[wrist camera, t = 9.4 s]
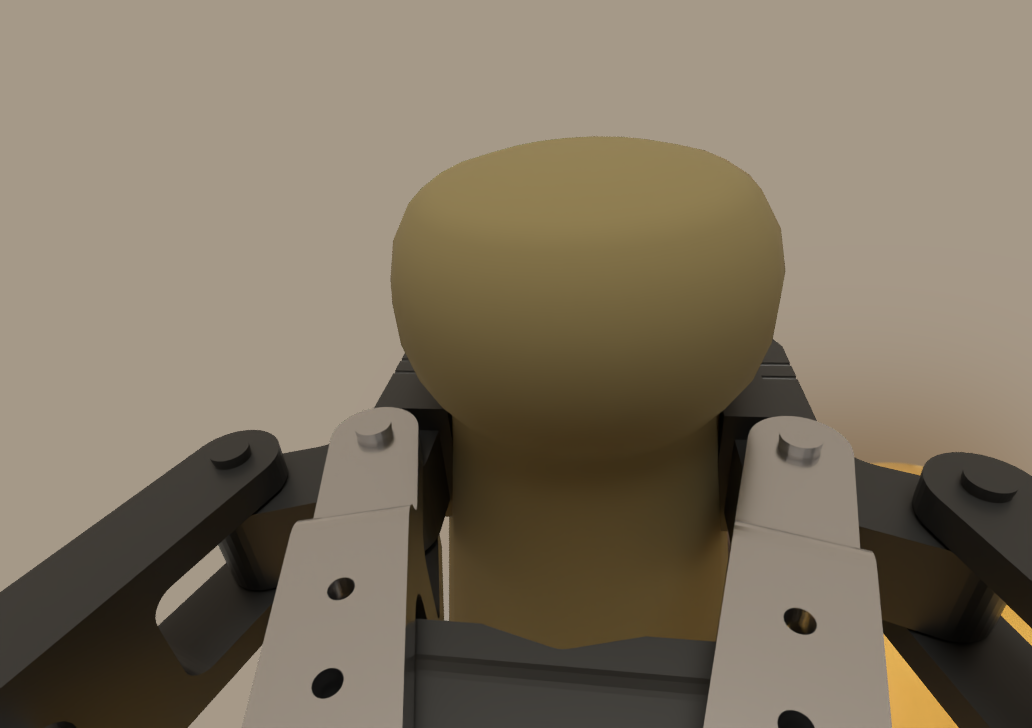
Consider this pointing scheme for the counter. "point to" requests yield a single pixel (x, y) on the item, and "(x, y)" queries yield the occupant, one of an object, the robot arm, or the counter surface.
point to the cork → (587, 376)
